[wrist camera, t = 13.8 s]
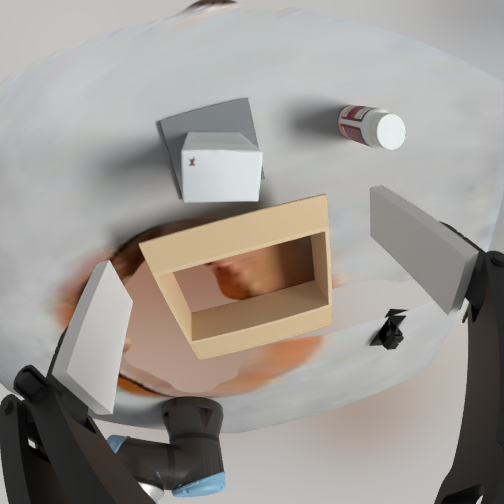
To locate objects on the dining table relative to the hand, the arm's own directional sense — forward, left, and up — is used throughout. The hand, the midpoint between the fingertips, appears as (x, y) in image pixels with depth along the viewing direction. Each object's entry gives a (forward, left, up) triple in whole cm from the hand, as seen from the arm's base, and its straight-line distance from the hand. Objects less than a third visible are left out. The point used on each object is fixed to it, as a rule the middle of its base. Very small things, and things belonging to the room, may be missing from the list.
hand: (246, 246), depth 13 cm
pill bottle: (+18, +1, -22) cm, 28 cm away
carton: (0, -16, -21) cm, 27 cm away
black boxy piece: (+27, -44, -22) cm, 56 cm away
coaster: (0, +1, -21) cm, 21 cm away
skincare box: (0, +1, -21) cm, 21 cm away
